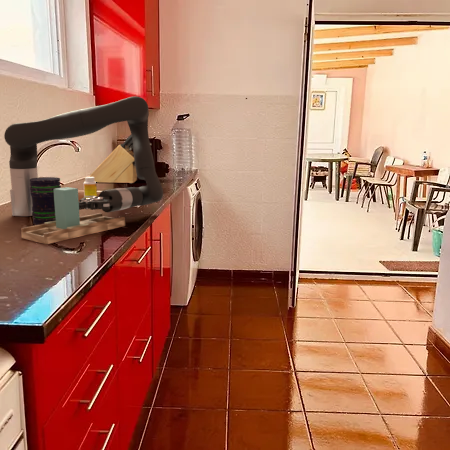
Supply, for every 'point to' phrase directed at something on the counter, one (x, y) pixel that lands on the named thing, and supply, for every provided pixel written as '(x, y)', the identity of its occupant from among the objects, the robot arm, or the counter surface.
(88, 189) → the supplement bottle
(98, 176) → the knife block
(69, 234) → the box
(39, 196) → the navy cylinder
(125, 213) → the counter surface
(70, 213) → the teal block
